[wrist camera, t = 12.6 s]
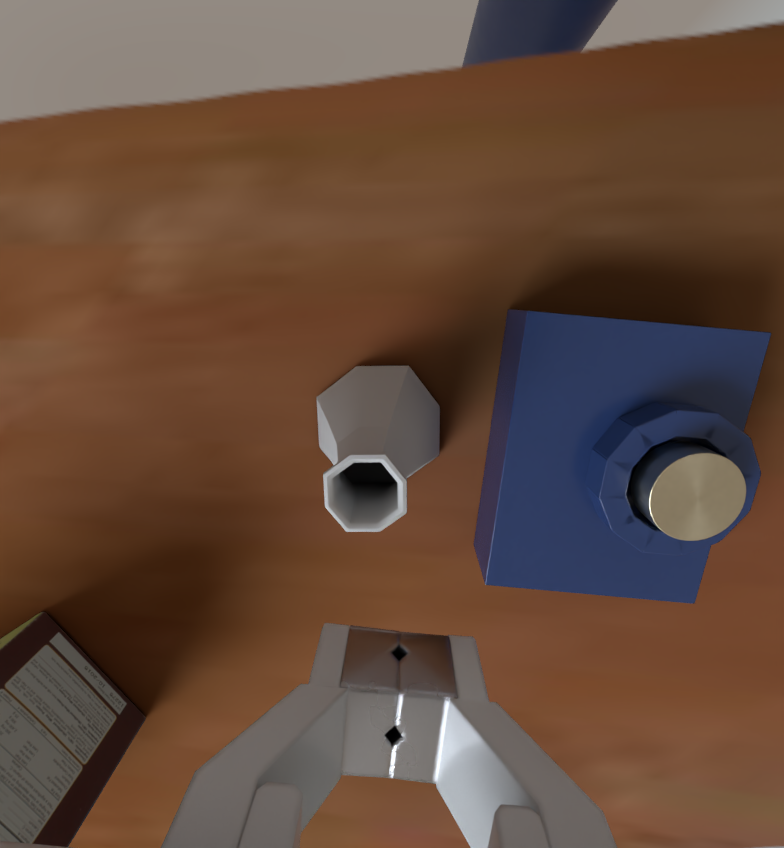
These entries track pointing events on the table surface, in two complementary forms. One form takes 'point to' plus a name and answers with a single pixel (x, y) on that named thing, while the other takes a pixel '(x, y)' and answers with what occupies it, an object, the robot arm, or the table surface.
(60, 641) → the protein box
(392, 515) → the flask
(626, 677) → the table surface
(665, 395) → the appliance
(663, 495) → the button
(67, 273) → the table surface
